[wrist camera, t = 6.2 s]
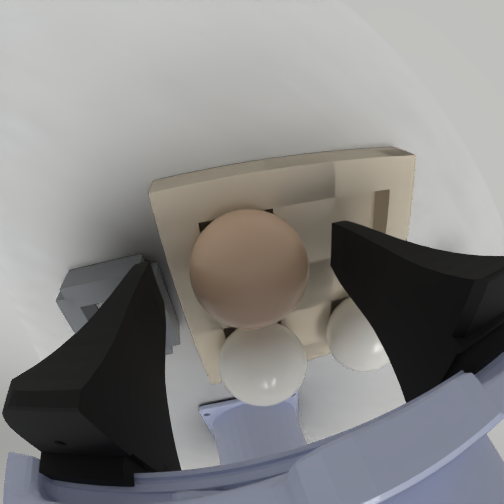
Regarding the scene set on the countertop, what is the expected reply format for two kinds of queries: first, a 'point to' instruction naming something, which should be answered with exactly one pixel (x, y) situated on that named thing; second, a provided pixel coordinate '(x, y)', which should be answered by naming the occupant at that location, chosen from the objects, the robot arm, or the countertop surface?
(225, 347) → the white egg
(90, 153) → the countertop surface
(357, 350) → the white egg
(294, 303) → the brown egg
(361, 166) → the carton
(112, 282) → the egg stand
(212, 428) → the robot arm
